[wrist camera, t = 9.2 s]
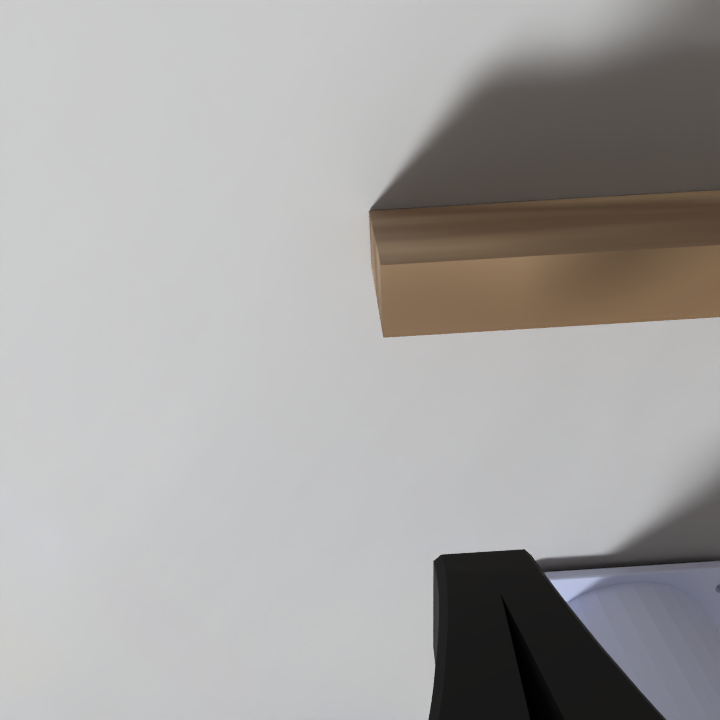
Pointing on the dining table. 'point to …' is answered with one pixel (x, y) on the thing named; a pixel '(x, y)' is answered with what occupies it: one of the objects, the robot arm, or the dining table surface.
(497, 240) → the brown wooden rack
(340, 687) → the dining table surface
